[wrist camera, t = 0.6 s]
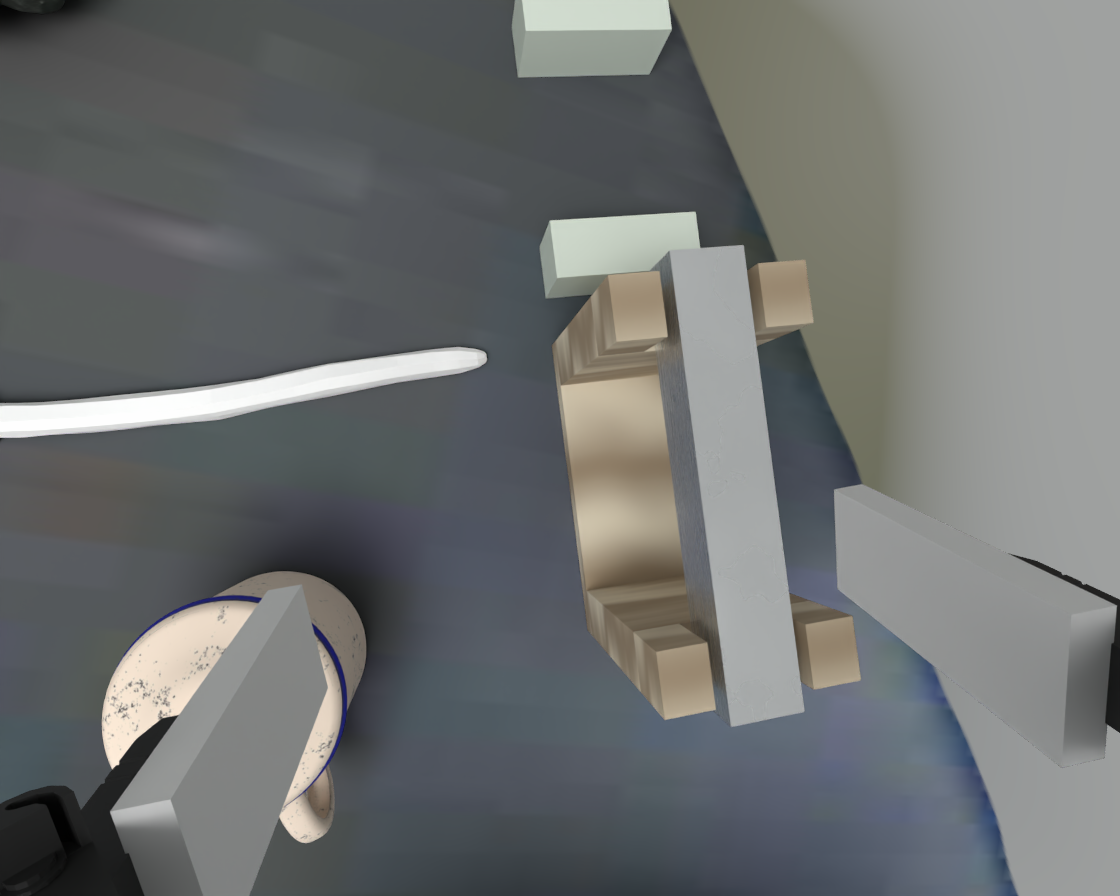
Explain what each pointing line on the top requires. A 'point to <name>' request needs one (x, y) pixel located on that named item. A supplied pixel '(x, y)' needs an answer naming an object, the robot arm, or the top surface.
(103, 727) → the teacup with lid
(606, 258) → the rest
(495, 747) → the top surface
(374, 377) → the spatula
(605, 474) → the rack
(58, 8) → the squash
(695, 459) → the rail
